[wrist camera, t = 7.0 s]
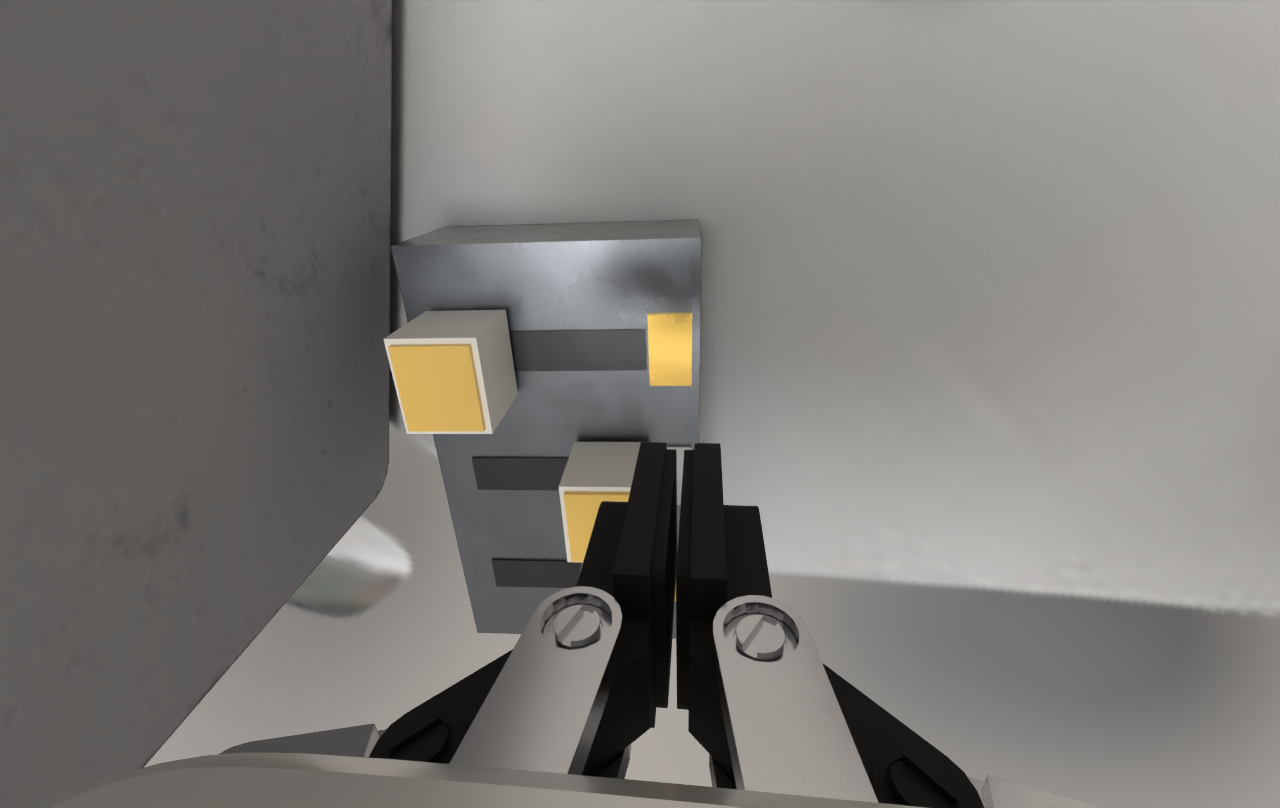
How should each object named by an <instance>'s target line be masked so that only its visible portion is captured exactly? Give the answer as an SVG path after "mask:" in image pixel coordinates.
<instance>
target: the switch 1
mask: <svg viewBox="0 0 1280 808" xmlns="http://www.w3.org/2000/svg"><path fill="white" fill-rule="evenodd" d="M383 340H384V344H385V348H386V352H387V356H388V360H389V364H390V368H391V372H392V376H393V380H394V384H395V388H396V392H397V396H398V400H399V404H400V408H401V412H402V416H403V420H404V424H405V428H406V432H407V434H493V432H494V431H495V429H496V428H497V426H498V425H499V423H500V422H501V420H502V419H503V417H504V416H505V414H506V412H507V411H508V409H509V408H510V406H511V405H512V403H513V402H514V400H515V399H516V397H517V396H518V391H517V384H516V377H515V370H514V363H513V357H512V350H511V343H510V336H509V329H508V322H507V315H506V310H455V311H425V312H424V313H422V314H421V315H419V316H418V317H416V318H415V319H413V320H411V321H410V322H408V323H407V324H405V325H404V326H402V327H401V328H399V329H398V330H396V331H395V332H393V333H392V334H390V335H389V336H387V337H386V338H384V339H383Z"/></svg>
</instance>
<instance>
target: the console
mask: <svg viewBox="0 0 1280 808" xmlns="http://www.w3.org/2000/svg"><path fill="white" fill-rule="evenodd" d="M391 249H392V254H393V258H394V263H395V267H396V272H397V276H398V281H399V285H400V290H401V294H402V298H403V303H404V307H405V312H406V316H407V321H408V322H410V321H411V320H413V319H415V318H416V317H418V316H419V315H421V314H422V313H424V312H425V311H455V310H506V315H507V322H508V329H509V336H510V343H511V350H512V357H513V363H514V370H515V377H516V384H517V391H518V396H517V397H516V399H515V400H514V402H513V403H512V405H511V406H510V408H509V409H508V411H507V412H506V414H505V416H504V417H503V419H502V420H501V422H500V423H499V425H498V426H497V428H496V429H495V431H494V432H493V434H433V437H434V441H435V445H436V450H437V454H438V459H439V463H440V468H441V472H442V477H443V481H444V485H445V490H446V494H447V499H448V503H449V508H450V512H451V517H452V521H453V525H454V530H455V534H456V539H457V543H458V548H459V552H460V557H461V561H462V565H463V570H464V575H465V579H466V584H467V588H468V592H469V597H470V601H471V606H472V610H473V615H474V619H475V624H476V628H477V632H478V633H508V634H522V633H523V631H524V629H525V628H526V626H527V624H528V622H529V620H530V619H531V617H532V615H533V613H534V612H535V610H536V609H537V608H538V606H539V605H540V604H541V603H542V602H543V601H544V600H545V599H547V598H548V597H549V596H551V595H552V594H554V593H556V592H559V591H561V590H563V589H566V588H572V587H576V585H577V582H578V578H579V574H580V570H581V565H582V562H567V553H566V545H565V537H564V528H563V520H562V511H561V503H560V494H559V484H560V481H561V478H562V476H563V473H564V470H565V467H566V465H567V462H568V459H569V456H570V453H571V451H572V448H573V445H574V442H660V443H667V449H674V450H676V453H677V552H678V537H679V522H680V507H681V492H682V476H683V461H684V450H694V445H695V443H699V381H700V295H701V235H700V230H699V225H698V221H697V220H667V221H633V222H598V223H564V224H529V225H494V226H460V227H444V228H441V229H438V230H435V231H432V232H429V233H427V234H424V235H421V236H418V237H415V238H412V239H410V240H407V241H404V242H401V243H398V244H395V245H392V246H391ZM672 638H676V588H675V604H674V619H673V634H672Z"/></svg>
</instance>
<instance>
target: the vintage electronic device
mask: <svg viewBox="0 0 1280 808" xmlns="http://www.w3.org/2000/svg"><path fill="white" fill-rule="evenodd" d="M391 80H392V0H0V808H41V807H43V806H45V805H46V804H48V803H50V802H52V801H53V800H55V799H57V798H59V797H62V796H64V795H66V794H69V793H71V792H73V791H75V790H78V789H80V788H82V787H85V786H88V785H90V784H93V783H96V782H99V781H101V780H104V779H107V778H110V777H113V776H117V775H120V774H124V773H127V772H131V771H135V770H138V769H142V768H143V767H144V766H145V765H146V764H147V763H148V761H149V760H150V759H151V758H152V757H153V756H154V755H155V753H156V752H157V751H158V750H159V749H160V748H161V747H162V745H163V744H164V743H165V742H166V741H167V740H168V738H169V737H170V736H171V735H172V734H173V733H174V731H175V730H176V729H177V728H178V726H180V725H181V723H182V722H183V721H184V720H185V719H186V718H187V716H188V715H189V714H190V713H191V712H192V711H193V709H194V708H195V707H196V706H197V705H198V704H199V703H200V701H201V700H202V699H203V698H204V697H205V695H206V694H207V693H208V692H209V691H210V690H211V689H212V687H213V686H214V685H215V684H216V683H217V681H218V680H219V679H220V678H221V677H222V676H223V675H224V674H225V672H226V671H227V670H228V669H229V668H230V667H231V665H232V664H233V663H234V662H235V661H236V660H237V658H238V657H239V656H240V655H241V654H242V653H243V652H244V650H245V649H246V648H247V647H248V646H249V645H250V643H251V642H252V641H253V640H254V639H255V638H256V636H257V635H258V634H259V633H260V632H261V631H262V629H263V628H264V627H265V626H266V625H267V623H268V622H269V621H270V620H271V619H272V618H273V617H274V616H275V614H276V613H277V612H278V611H279V610H280V609H281V607H282V606H283V605H284V604H285V603H286V602H287V601H288V599H289V598H290V597H291V596H292V595H293V594H294V592H295V591H296V590H297V589H298V588H299V587H300V585H301V584H302V583H303V582H304V581H305V580H306V578H307V577H308V576H309V575H310V574H311V573H312V572H313V570H314V569H315V568H316V567H317V566H318V565H319V563H320V562H321V561H322V560H323V559H324V558H325V556H326V555H327V554H328V553H329V552H330V551H331V550H332V548H333V547H334V546H335V545H336V544H337V543H338V541H339V540H340V539H341V538H342V537H343V536H344V534H345V533H346V532H347V531H348V530H349V529H350V527H351V526H352V525H353V524H354V523H355V522H356V521H357V519H358V518H359V517H360V516H361V515H362V514H363V512H364V511H365V510H366V509H367V508H368V507H369V505H370V504H371V503H372V502H373V501H374V500H375V498H376V497H377V495H378V494H379V492H380V491H381V489H382V486H383V484H384V481H385V478H386V475H387V470H388V463H389V368H390V364H389V360H388V356H387V352H386V348H385V344H384V340H383V339H384V338H386V337H387V336H389V335H390V224H391Z"/></svg>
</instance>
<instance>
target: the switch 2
mask: <svg viewBox="0 0 1280 808" xmlns="http://www.w3.org/2000/svg"><path fill="white" fill-rule="evenodd" d="M640 444H641V442H574V445H573V448H572V451H571V453H570V456H569V459H568V462H567V465H566V467H565V470H564V473H563V476H562V478H561V481H560V484H559V494H560V503H561V511H562V520H563V528H564V537H565V545H566V553H567V562H583V561H584V558H585V554H586V551H587V547H588V544H589V540H590V537H591V533H592V530H593V527H594V523H595V520H596V516H597V513H598V509H599V506H600V504H601V502H602V501H613V502H628V499H629V495H630V490H631V485H632V481H633V476H634V471H635V466H636V462H637V457H638V452H639V448H640Z"/></svg>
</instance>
